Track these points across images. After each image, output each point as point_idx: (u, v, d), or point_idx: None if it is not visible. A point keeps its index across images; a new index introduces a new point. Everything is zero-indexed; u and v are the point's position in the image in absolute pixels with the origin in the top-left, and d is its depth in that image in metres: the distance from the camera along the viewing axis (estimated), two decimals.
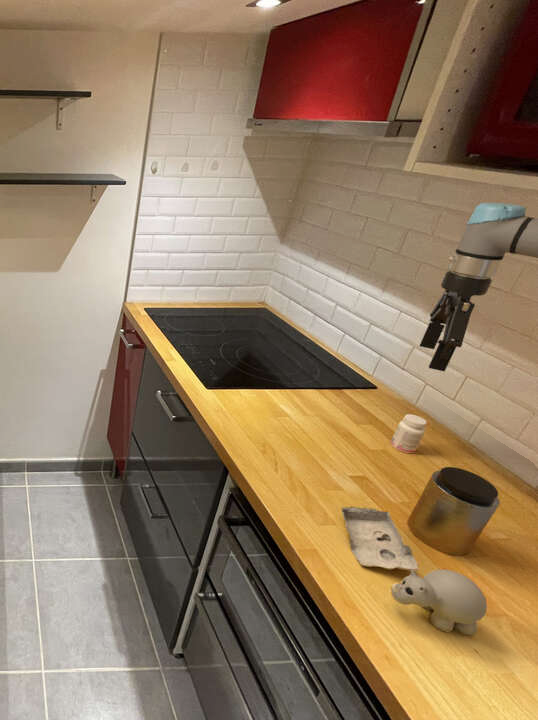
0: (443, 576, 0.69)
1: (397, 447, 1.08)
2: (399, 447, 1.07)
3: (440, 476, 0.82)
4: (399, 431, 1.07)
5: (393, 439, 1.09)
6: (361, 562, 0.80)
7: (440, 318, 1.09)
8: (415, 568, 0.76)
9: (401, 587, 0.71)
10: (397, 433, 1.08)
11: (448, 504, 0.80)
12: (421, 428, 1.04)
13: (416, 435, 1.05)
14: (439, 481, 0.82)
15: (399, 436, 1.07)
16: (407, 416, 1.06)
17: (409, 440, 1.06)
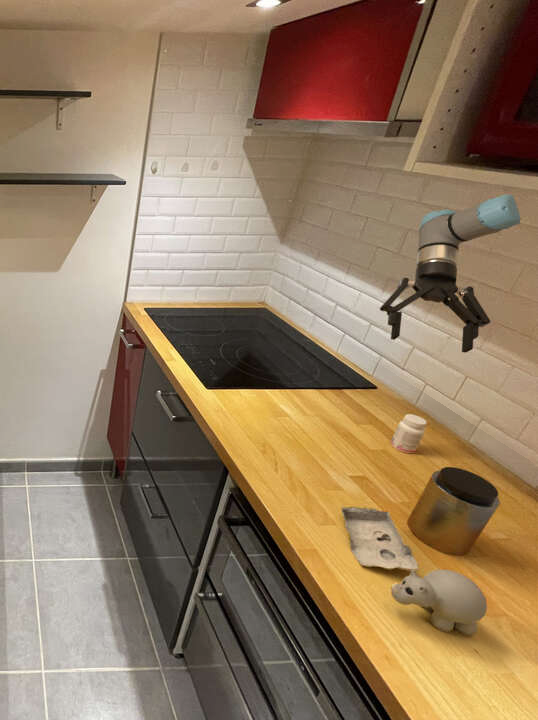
0: (443, 576, 0.69)
1: (397, 447, 1.08)
2: (399, 447, 1.07)
3: (440, 476, 0.82)
4: (399, 431, 1.07)
5: (393, 439, 1.09)
6: (361, 562, 0.80)
7: (464, 318, 1.07)
8: (415, 568, 0.76)
9: (401, 587, 0.71)
10: (397, 433, 1.08)
11: (448, 504, 0.80)
12: (421, 428, 1.04)
13: (416, 435, 1.05)
14: (439, 481, 0.82)
15: (399, 436, 1.07)
16: (407, 416, 1.06)
17: (409, 440, 1.06)
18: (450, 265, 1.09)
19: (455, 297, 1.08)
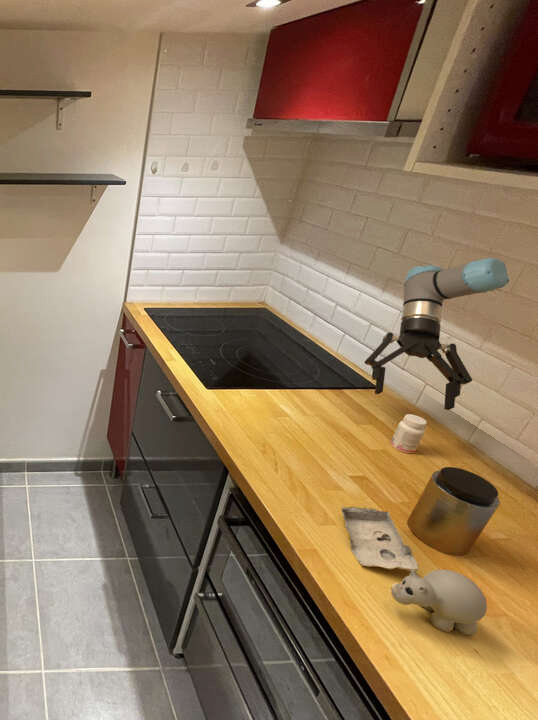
0: (443, 576, 0.69)
1: (397, 447, 1.08)
2: (399, 447, 1.07)
3: (440, 476, 0.82)
4: (399, 431, 1.07)
5: (393, 439, 1.09)
6: (361, 562, 0.80)
7: (447, 375, 1.09)
8: (415, 568, 0.76)
9: (401, 587, 0.71)
10: (397, 433, 1.08)
11: (448, 504, 0.80)
12: (421, 428, 1.04)
13: (416, 435, 1.05)
14: (439, 481, 0.82)
15: (399, 436, 1.07)
16: (407, 416, 1.06)
17: (409, 440, 1.06)
18: (433, 322, 1.11)
19: (438, 354, 1.10)
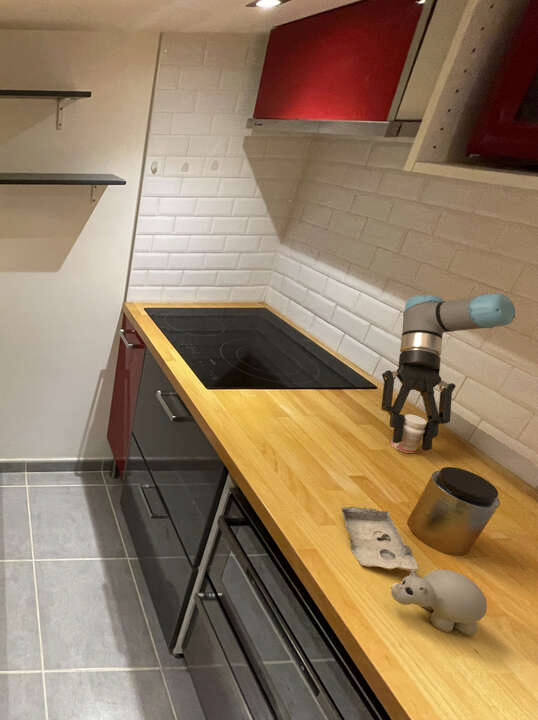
0: (443, 576, 0.69)
1: (397, 447, 1.08)
2: (399, 447, 1.07)
3: (440, 476, 0.82)
4: None
5: None
6: (361, 562, 0.80)
7: (428, 412, 1.06)
8: (415, 568, 0.76)
9: (401, 587, 0.71)
10: None
11: (448, 504, 0.80)
12: (421, 428, 1.04)
13: (416, 435, 1.05)
14: (439, 481, 0.82)
15: None
16: (407, 416, 1.06)
17: (409, 440, 1.06)
18: (433, 355, 1.07)
19: (431, 390, 1.06)
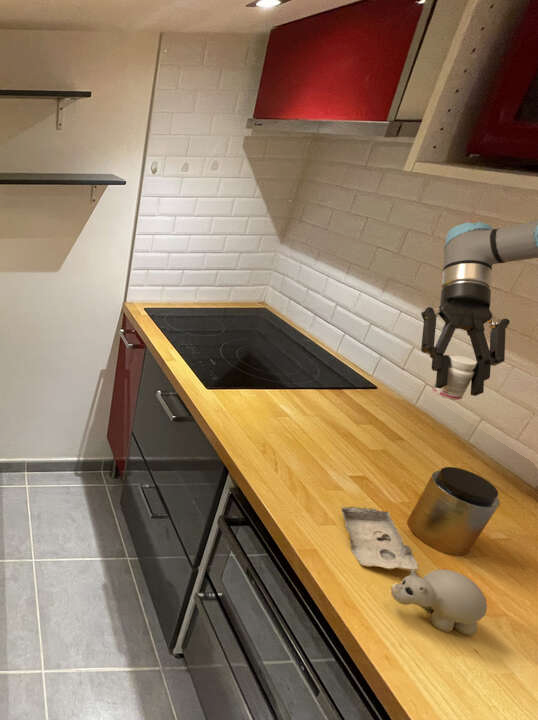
0: (443, 576, 0.69)
1: (440, 394, 0.93)
2: (443, 393, 0.93)
3: (440, 476, 0.82)
4: None
5: (435, 385, 0.95)
6: (361, 562, 0.80)
7: (478, 352, 0.92)
8: (415, 568, 0.76)
9: (401, 587, 0.71)
10: None
11: (448, 504, 0.80)
12: (470, 369, 0.90)
13: (464, 378, 0.90)
14: (439, 481, 0.82)
15: None
16: (453, 357, 0.92)
17: (456, 384, 0.91)
18: (483, 287, 0.93)
19: (481, 327, 0.92)
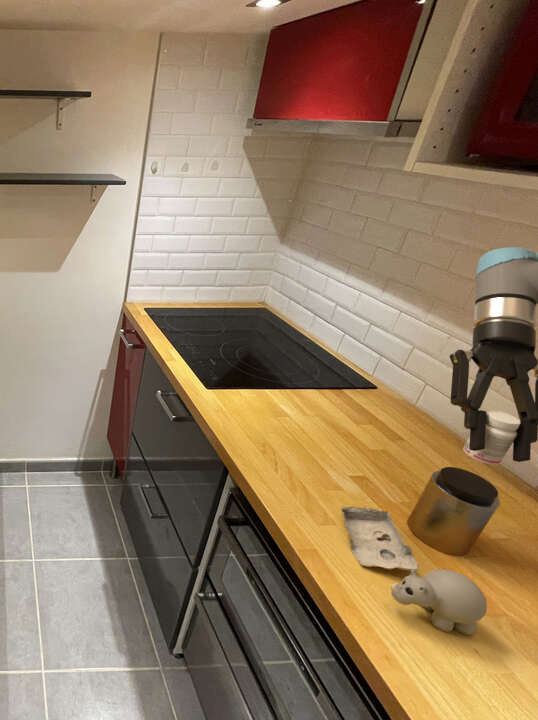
0: (443, 576, 0.69)
1: (475, 456, 0.77)
2: (478, 456, 0.77)
3: (440, 476, 0.82)
4: None
5: (468, 445, 0.78)
6: (361, 562, 0.80)
7: (521, 408, 0.75)
8: (415, 568, 0.76)
9: (401, 587, 0.71)
10: None
11: (448, 504, 0.80)
12: (512, 430, 0.74)
13: (505, 440, 0.74)
14: (439, 481, 0.82)
15: None
16: (490, 413, 0.76)
17: (495, 447, 0.75)
18: (527, 327, 0.76)
19: (525, 377, 0.75)
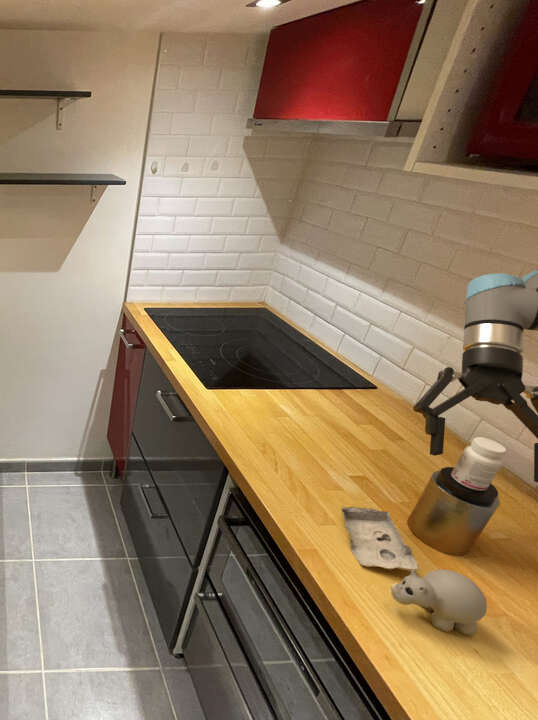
0: (443, 576, 0.69)
1: (462, 482, 0.79)
2: (465, 482, 0.79)
3: (440, 476, 0.82)
4: (465, 461, 0.78)
5: (456, 471, 0.80)
6: (361, 562, 0.80)
7: (536, 431, 0.76)
8: (415, 568, 0.76)
9: (401, 587, 0.71)
10: (463, 463, 0.79)
11: (448, 504, 0.80)
12: (498, 458, 0.75)
13: (492, 468, 0.76)
14: (439, 481, 0.82)
15: (466, 467, 0.78)
16: (477, 440, 0.78)
17: (481, 474, 0.77)
18: (514, 354, 0.78)
19: (522, 401, 0.77)
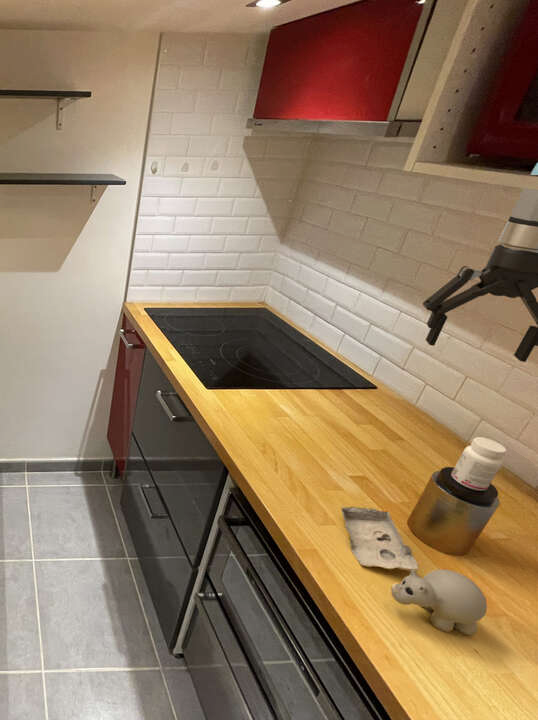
0: (443, 576, 0.69)
1: (462, 482, 0.79)
2: (465, 482, 0.79)
3: (440, 476, 0.82)
4: (465, 461, 0.78)
5: (456, 471, 0.80)
6: (361, 562, 0.80)
7: (535, 318, 0.84)
8: (415, 568, 0.76)
9: (401, 587, 0.71)
10: (463, 463, 0.79)
11: (448, 504, 0.80)
12: (498, 458, 0.75)
13: (492, 468, 0.76)
14: (439, 481, 0.82)
15: (466, 467, 0.78)
16: (477, 440, 0.78)
17: (481, 474, 0.77)
18: None
19: (531, 298, 0.82)
